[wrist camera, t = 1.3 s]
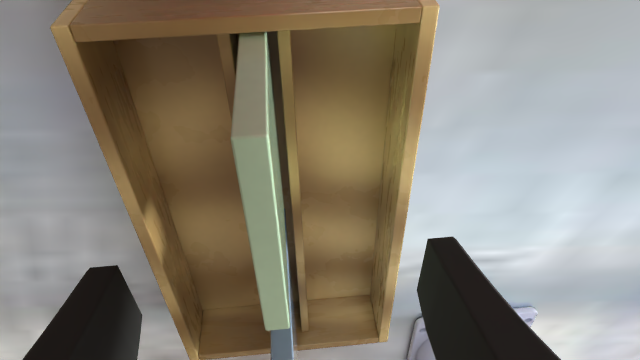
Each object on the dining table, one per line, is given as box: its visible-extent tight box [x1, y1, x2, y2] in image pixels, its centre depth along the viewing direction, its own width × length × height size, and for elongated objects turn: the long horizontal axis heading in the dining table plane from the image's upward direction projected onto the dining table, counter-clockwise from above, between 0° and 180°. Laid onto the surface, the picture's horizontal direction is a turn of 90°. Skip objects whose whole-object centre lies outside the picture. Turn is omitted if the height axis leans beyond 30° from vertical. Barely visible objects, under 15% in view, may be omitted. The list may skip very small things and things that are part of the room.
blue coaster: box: [270, 208, 298, 360], centre depth 21 cm, size 8×1×8 cm, turn 1°
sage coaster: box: [230, 32, 290, 331], centre depth 15 cm, size 8×1×8 cm, turn 1°
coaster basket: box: [50, 0, 440, 360], centre depth 20 cm, size 18×11×3 cm, turn 1°
